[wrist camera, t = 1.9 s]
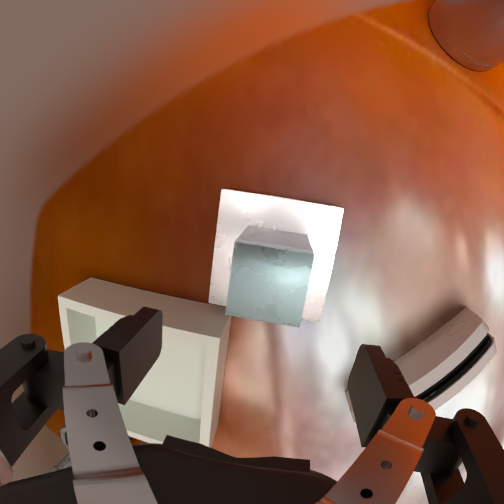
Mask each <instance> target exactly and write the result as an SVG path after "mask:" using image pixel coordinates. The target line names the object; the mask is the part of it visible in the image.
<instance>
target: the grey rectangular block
mask: <svg viewBox="0 0 504 504" xmlns="http://www.w3.org/2000/svg"><path fill="white" fill-rule="evenodd" d="M314 256H315V254H314V251H313V249H312V246H311V243H310V241H309V238H308V236H307V235H306V234H300V233H294V232H288V231H282V230H276V229H270V228H264V227H257V226H251V225H248V227H247V228H246V229H245V230H244V231H243V232H242V233H241V235H240V236H239V237H238V238H237V239H236V240H235V242H234V249H233V257H232V265H231V272H230V280H229V288H228V296H227V304H226V312H225V315H230V316H235V317H241V318H247V319H252V320H258V321H264V322H270V323H276V324H282V325H288V326H295V327H300V323H301V318H302V314H303V309H304V305H305V300H306V295H307V291H308V286H309V281H310V276H311V271H312V266H313V261H314Z"/></svg>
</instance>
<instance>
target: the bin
mask: <svg viewBox="0 0 504 504" xmlns="http://www.w3.org/2000/svg"><path fill="white" fill-rule="evenodd" d="M58 302H59V312H60V320H61V327H62V334H63V341H64V347H65V350H66V348H67V347H69V346H70V345H72V344H75V343H81V342H87V343H92V342H94V341H95V340H96V339H97V338H98V337H99V336H100V335H102V334H103V333H104V332H105V331H106V330H108V329H109V328H110V327H111V326H113V324H114V323H115V322H117V321H118V320H119V319H120V318H123V317H125V316H128V315H135V314H136V313H137V312H138V311H139V310H140V309H141V308H142V307H149V308H153V309H157V310H161V311H162V314H163V324H162V349H161V353H160V356H159V358H158V359H157V361H156V362H155V363H154V365H153V366H152V368H151V369H150V370H149V372H148V373H147V375H146V376H145V377H144V379H143V380H142V382H141V383H140V385H139V386H138V387H137V389H136V390H135V392H134V393H133V394H132V396H131V397H130V399H129V400H128V402H127V403H126V404H125V405H122V404H119V403H118V405H119V408H120V412H121V415H122V418H123V421H124V424H125V427H126V430H127V433H128V436H130V437H133V438H136V439H139V440H142V441H145V442H148V443H159V444H163V442H164V439H165V437H166V435H169V436H173V437H177V438H180V439H184V440H188V441H192V442H196V443H200V444H203V445H205V446H207V447H210V448H211V446H212V443H213V440H214V436H215V433H216V430H217V426H218V422H219V414H220V405H221V397H222V389H223V381H224V373H225V365H226V357H227V349H228V342H229V334H230V326H231V319H232V316H230V315H225V312H226V307H223V306H218V305H212V304H207V303H202V302H197V301H192V300H187V299H182V298H178V297H173V296H168V295H164V294H159V293H155V292H150V291H146V290H141V289H137V288H133V287H128V286H124V285H120V284H116V283H112V282H108V281H104V280H100V279H96V278H92V277H91V278H89V279H87V280H85V281H83V282H81V283H80V284H78V285H76V286H74V287H72V288H71V289H69V290H67V291H65V292H63V293H62V294H60V295H58Z"/></svg>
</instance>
